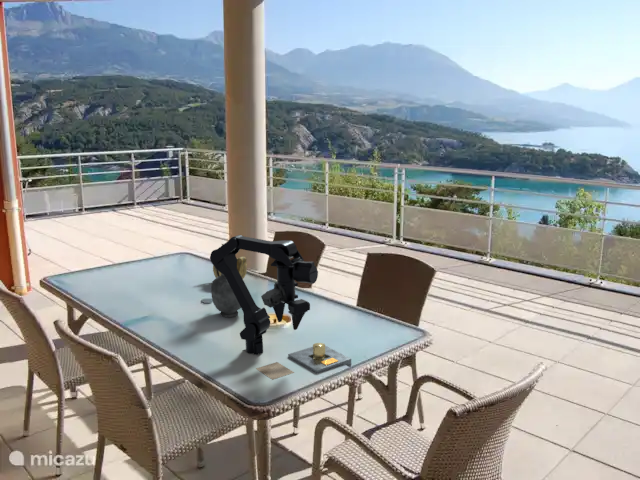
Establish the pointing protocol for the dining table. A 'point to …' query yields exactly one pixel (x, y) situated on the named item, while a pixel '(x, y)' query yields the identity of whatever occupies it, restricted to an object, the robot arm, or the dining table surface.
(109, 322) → the dining table surface
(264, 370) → the pad
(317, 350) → the brass peg
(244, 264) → the dried plant tuft
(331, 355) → the hole plate
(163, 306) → the dining table surface
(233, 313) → the grey stone vase
